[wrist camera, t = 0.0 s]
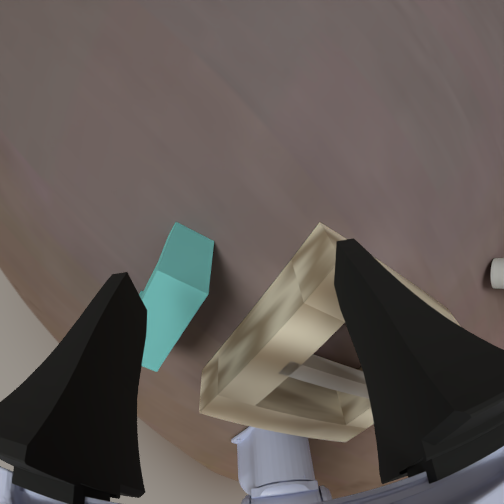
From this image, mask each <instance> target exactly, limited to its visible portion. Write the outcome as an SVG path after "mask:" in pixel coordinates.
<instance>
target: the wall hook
mask: <svg viewBox="0 0 504 504" xmlns="http://www.w3.org/2000/svg"><path fill="white" fill-rule="evenodd" d="M491 284H492V287H493V288H497V289H504V258H494V259H493V261H492V265H491Z"/></svg>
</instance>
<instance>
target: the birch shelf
mask: <svg viewBox="0 0 504 504" xmlns="http://www.w3.org/2000/svg"><path fill="white" fill-rule="evenodd" d="M341 240H347V239H346V238H344V237H343V236H341V235H339V234H338V233H336V232H335V231H333V230H332V229H330V228H328V227H327V226H325V225H324V224H322V223H320V222H319V224H318V225H317V226H316V228H315V229H314V230H313V232H312V233H311V234H310V236H309V237H308V238H307V240H306V241H305V242H304V244H303V245H302V246H301V247H300V249H299V250H298V251H297V253H296V254H295V255H294V257H293V258H292V259H291V260H290V262H289V263H288V264H287V266H286V267H285V268H284V269H283V271H282V272H281V273H280V275H279V276H278V277H277V278H276V280H275V281H274V282H273V283H272V285H271V286H270V287H269V289H268V290H267V291H266V292H265V294H264V295H263V296H262V297H261V299H260V300H259V301H258V302H257V304H256V305H255V306H254V307H253V309H252V310H251V311H250V312H249V314H248V315H247V316H246V317H245V319H244V320H243V321H242V322H241V324H240V325H239V326H238V327H237V328H236V330H235V331H234V332H233V333H232V335H231V336H230V337H229V338H228V340H227V341H226V342H225V343H224V344H223V346H222V347H221V348H220V349H219V350H218V352H217V353H216V354H215V355H214V356H213V358H212V359H211V360H210V361H209V362H208V364H207V365H206V366H205V367H204V368H203V370H202V378H201V392H200V406H199V413H201V414H205V415H208V416H212V417H215V418H219V419H222V420H226V421H230V422H234V423H238V424H242V425H246V426H251V427H255V428H259V429H264V430H269V431H274V432H279V433H284V434H290V435H295V436H301V437H308V438H314V439H322V440H329V441H338V442H347V441H348V440H350V439H351V438H353V437H355V436H356V435H358V434H359V433H361V432H362V431H364V430H365V429H367V428H368V427H370V426H371V425H373V424H374V421H373V415H372V410H371V405H370V400H369V395H368V390H367V386H366V382H365V377H364V373H363V370H362V367H361V368H359V369H358V370H357V369H354V368H351V367H348V366H345V365H342V364H339V363H336V362H333V361H331V360H328V359H325V358H322V357H319V356H317V355H314V354H313V353H315V352H316V351H317V350H318V349H319V348H320V347H321V346H322V345H323V344H324V343H325V342H326V341H327V340H328V339H329V338H330V337H331V336H332V335H333V334H334V333H335V332H336V331H337V330H338V329H339V328H340V327H341V326H342V325H343V324H344V323H345V321H344V318H343V315H342V313H341V310H340V306H339V303H338V299H337V295H336V291H335V287H334V275H335V260H336V241H341ZM374 258H375V257H374ZM375 259H376V258H375ZM376 260H377V261H378V262H379V263H380V264H381V265H382V266H384V267H385V268H386V269H387V270H388V271H389V272H390V273H391V274H392V275H393V276H395V277H396V278H397V279H398V280H399V281H400V282H401V283H402V284H404V285H405V286H406V287H407V288H408V289H409V290H411V291H412V292H413V293H414V294H415V295H417V296H418V297H419V298H420V299H422V300H423V301H424V302H426V303H427V304H428V305H430V306H431V307H432V308H434V309H435V310H436V311H438V312H439V313H441V314H442V315H443V316H445V317H446V318H448V319H449V320H451V321H452V322H454V323H456V324H457V325H459V324H458V322H457V321H456V320H455V318H454V317H453V315H452V314H451V313H450V311H449V310H448V309H447V308H446V307H444V306H443V305H442V304H440V303H439V302H438V301H436V300H435V299H433V298H432V297H431V296H429V295H428V294H426V293H425V292H424V291H422V290H421V289H419V288H418V287H417V286H415V285H414V284H412V283H411V282H410V281H408V280H407V279H405V278H404V277H402V276H401V275H400V274H398V273H397V272H395V271H394V270H392V269H391V268H389V267H388V266H386V265H385V264H383V263H382V262H380V261H379V260H378V259H376ZM459 326H460V325H459Z"/></svg>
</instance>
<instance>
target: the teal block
mask: <svg viewBox="0 0 504 504" xmlns="http://www.w3.org/2000/svg"><path fill="white" fill-rule="evenodd" d="M213 247H214V241H213V240H211V239H209V238H207V237H205V236H203V235H201V234H199V233H197V232H195V231H193V230H191V229H189V228H187V227H185V226H183V225H181V224H179V223H177V222H175V224H174V226H173V228H172V230H171V232H170V234H169V236H168V238H167V241H166V243H165V246H164V248H163V251H162V253H161V256H160V258H159V261H158V263H157V265H156V267H155V269H154V271H153V273H152V275H151V277H150V279H149V281H148V283H147V285H146V287H145V289H144V291H141V292H140V294H139V296H140V298H141V300H142V301H143V303H144V305H145V307H146V309H147V332H146V341H145V347H144V353H143V359H142V365H141V366H143V367H146V368H148V369H151V370H153V371H156V372H157V371H158V369H159V368H160V366H161V365H162V363H163V362H164V360H165V359H166V357H167V356H168V354H169V353H170V351H171V350H172V348H173V347H174V345H175V344H176V342H177V341H178V339H179V338H180V336H181V334H182V333H183V331H184V330H185V328H186V327H187V325H188V324H189V322H190V321H191V319H192V318H193V316H194V315H195V313H196V312H197V310H198V309H199V307H200V306H201V304H202V303H203V302H204V300H205V299H206V297H207V296H208V293H209V284H210V274H211V265H212V256H213Z"/></svg>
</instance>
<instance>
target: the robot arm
mask: <svg viewBox="0 0 504 504" xmlns="http://www.w3.org/2000/svg"><path fill="white" fill-rule="evenodd" d="M334 287H335V291H336V295H337V299H338V303H339V306H340V310H341V313H342V315H343V318H344V321H345V323H346V326H347V328H348V331H349V334H350V336H351V339H352V342H353V344H354V347H355V350H356V352H357V355H358V358H359V360H360V363H361V367H362V370H363V373H364V377H365V382H366V386H367V390H368V395H369V400H370V405H371V410H372V415H373V421H374V427H375V434H376V441H377V450H378V459H379V472H380V477H381V482H382V484H384V483H387V482H390V481H393V480H396V479H399V478H402V477H405V476H408V477H409V478H406V479H404V480H401V481H398V482H395V483H392V484H389V485H385V486H382V487H379V488H376V489H372V490H369V491H365V492H361V493H357V494H353V495H349V496H345V497H341V498H336V499H332V497H331V493H330V490H329V489H328V488H326V487H325V486H324V485H322V486H319V488H318V482H317V480H315V476H314V470H313V464H312V458H311V453H310V447H309V441H308V437H301V436H295V435H290V434H284V433H279V432H274V431H269V430H264V429H259V428H255V427H251V426H249V427H248V428H247V429H245V430H244V431H242V432H241V433H240V434H238V435H237V436H235V437H234V438H233V439H232V440H231V442H232V443H235V444H237V451H238V478H239V482H240V485H241V487H242V488H243V489H244V491H245V492H246V493H248V494H249V495H246V496H245V498H244V499H243V500H242V502H241V504H504V350H503V349H501V348H498V347H496V346H494V345H492V344H490V343H488V342H487V341H485V340H483V339H481V338H479V337H477V336H475V335H474V334H472V333H470V332H468V331H467V330H465V329H464V328H462V327H460V326H459V325H457V324H456V323H454V322H452V321H451V320H449V319H448V318H446V317H445V316H443V315H442V314H441V313H439V312H438V311H436V310H435V309H434V308H432V307H431V306H430V305H428V304H427V303H426V302H424V301H423V300H422V299H420V298H419V297H418V296H417V295H415V294H414V293H413V292H412V291H411V290H409V289H408V288H407V287H406V286H405V285H404V284H402V283H401V282H400V281H399V280H398V279H397V278H396V277H395V276H393V275H392V274H391V273H390V272H389V271H388V270H387V269H386V268H385V267H384V266H382V265H381V264H380V263H379V262H378V261H377V260H376V259H375V258H374V257H373V256H372V255H371V254H370V253H369V252H368V251H367V250H366V249H365V248H363V247H362V246H361V245H360V244H359V243H358V242H357V241H356V240H355V239H348V240H341V241H336V260H335V275H334ZM146 332H147V309H146V307H145V305H144V303H143V301H142V300H141V298H140V296H139V294H138V292H137V290H136V288H135V286H134V284H133V283H132V281H131V279H130V277H129V275H128V273H127V272H125V273H118V274H112V276H111V277H110V278H109V279H108V280H107V281H106V283H105V284H104V285H103V287H102V288H101V289H100V291H99V292H98V293H97V295H96V296H95V297H94V299H93V300H92V301H91V303H90V304H89V305H88V307H87V308H86V309H85V311H84V312H83V313H82V315H81V316H80V318H79V319H78V320H77V321H76V323H75V324H74V325H73V327H72V328H71V329H70V331H69V332H68V333H67V334H66V336H65V337H64V338H63V340H62V341H61V342H60V343H59V345H58V346H57V347H56V348H55V349H54V351H53V352H52V353H51V354H50V355H49V356H48V357H47V359H46V360H45V361H44V362H43V363H42V364H41V365H40V366H39V367H38V368H37V369H36V370H35V371H34V372H33V373H32V374H31V375H30V376H29V377H28V378H27V379H26V380H25V381H24V382H23V383H22V384H21V385H20V386H19V387H18V388H17V389H16V390H14V391H13V392H12V393H11V394H10V395H9V396H7V397H6V398H5V399H4V400H2V401H1V402H0V459H1V460H3V461H5V462H6V463H8V464H11V465H13V466H14V471H13V472H12V471H10V470H8V469H5V468H3V467H1V466H0V504H120V503H114V502H110V497H112V498H118V499H119V498H120V495H123V496H130V497H137V498H139V497H141V496H142V495H143V494H144V493H145V489H144V485H143V479H142V473H141V467H140V460H139V459H140V458H139V450H138V437H137V435H138V434H137V395H138V385H139V379H140V372H141V365H142V359H143V353H144V347H145V341H146Z"/></svg>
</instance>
